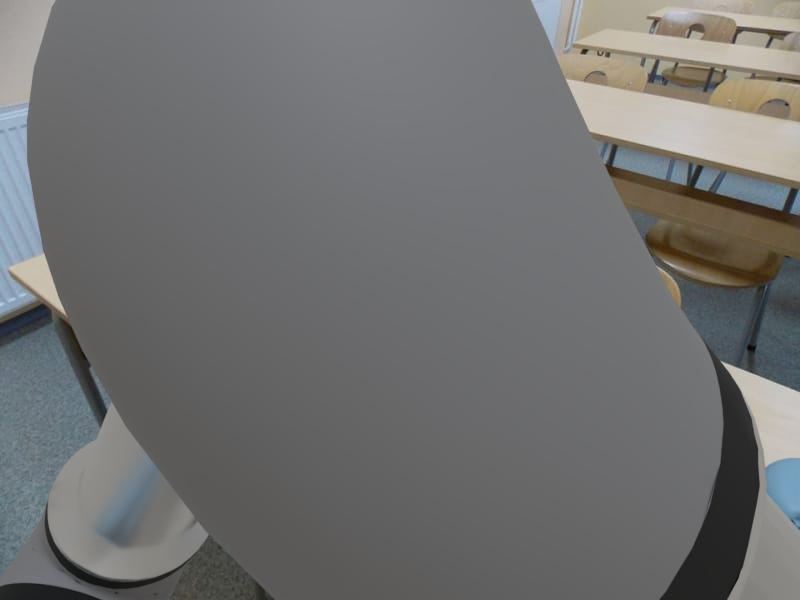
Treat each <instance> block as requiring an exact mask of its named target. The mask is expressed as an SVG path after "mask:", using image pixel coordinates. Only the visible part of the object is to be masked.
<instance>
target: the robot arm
mask: <svg viewBox="0 0 800 600" xmlns="http://www.w3.org/2000/svg"><path fill="white" fill-rule="evenodd" d="M31 77H32V79H31V86H30V93H29V94H30V95H29V100H28V101H29V102H28V110H27V118H26V164H27V169H28V176H29V181H30V187H31V192H32V197H33V204H34V209H35V214H36V220H37V225H38V231H39V236H40V240H41V241H40V242H41V246H42V251H43V253H44V257H45V260H46V264H47V266H48V269H49V273H50V275H51V279H52V282H53V284H54V288H55V291H56V293H57V297H58V299H59V301H60V304H61V306H62V308H63V310H64V312H65V314H66V317H67V320H68V321H69V322H68V323H69V324H70V326H71V328H72V331H73V333H74V335H75V338H76V340H77V342H78V344H79V346H80V349H81V351H82V352H83V354H84V356H85V358H86V359H87V361H88V363H89V365H90V366H91V368H92V370H93V372H94V373H95V375H96V377H97V379H98V380H99V382H100V384H101V385H102V387H103V389H104V391H105V393H106V394H107V396H108V399H109V400H110V404H109V406H108V408H107V412H106V414H105V416H104V419H103V422H102V424H101V426H100V429H99V432H98V434H97V437H96V439H94V440H92V441H90V442H88V443H87V444H85V445H84V446H83V447H81V448H79V449H78V450H77V451H76V452H75V453H74V454H73V455H72V456H70V458H69V459H68V460H67V461H66V463H65V464H63V466H62V468H61V469H60V471H59V472H58V474H57V476H56V478H55V480H54V481H53V484H52V487H51V489H50V492H49V496H48V499H47V501H46V504H45V507H44V510H43V513H42V515H41V517H40V519H39V521H38V523H37V524H36V526H35V527H34V529H33V531H32V532H31V534H30V536H29V537H28V538H27V540H26V541H25V542H24V544H23V546H22V547H21V548H20V550H19V552H18V553H17V554H16V555H15V557H14V558H13V560H12V562H11V563H9V565H8V567H7V568H6V570H5V571H4V573H3V574H1V575H2V576H1V577H0V600H171V598H172V596H173V593H174V591H175V589H176V587H177V584H178V582H179V580H180V578H181V576H182V574H183V572H184V570H185V569H186V567H187V565H188V564H189V563H190V562H191V560H192V559H193V558H194V557H195V555H196V554H197V553H198V551H199V550H200V548H201V547H202V546H203V544H204V543H205V542H206V540H207V539H208V537H209V536H210V538H212V539H213V540H214V541H215V542H216V543H217V544H218V545H219V546H220V547H221V548H222V549H223V550H224V551H225V552H226V553H227V554H228V555H229V556H230V557H231V558H232V559H233V560H234V561H235V562H236V563H237V564H238V565H239V566H240V567H241V568H242V569H243V570H244V571H245V572H246V573H247V574H248V575H249V576H250V577H251V578H252V579H253V580H254V581H255V582H256V583H257V584H258V585H259V586H260V587H261V588H262V589H263V590H265V592H266V593H267V594H268V595H269V596H271V598H272V599H273V600H800V457H787V458H786V457H785V458H782V459H778V460H776V461H773V462H771V463H769V464H768V465H766V462H765V452H764V447H763V443H762V439H761V436H760V432H759V429H758V425H757V421H756V417H755V415H754V413H753V411H752V409H751V407H750V405H749V403H748V400H747V398H746V396H745V395H744V393H743V391H742V388H741V387H740V386H739V384H738V383H737V382H736V380H735V378H734V377H733V376H732V374H731V373H730V371H729V370H728V369H727V367H726V366H725V365H724V363H723V362H722V361H721V360H720V358H718V356H717V355H716V354H715V352H714V351H713V350H712V348H711V347H710V346H709V345H708V344H707V342H706V341H705V339H704V338H703V337H702V336H701V334H700V333H699V332H698V331H697V329H696V328H695V326H694V325H693V323H692V321H690V319H689V318H688V317H687V315H686V314H685V312H684V311H683V310H682V308H681V307H680V305H679V304H678V302H677V301H676V299H675V298H674V297H673V294H672V293H671V291H670V289H669V287H668V285H667V283H666V281H665V280H664V277H663V275H662V274H661V272H660V270H659V268H658V266H657V264H656V262H655V261H654V259H653V256H652V255H651V253H650V251H649V249H648V247H647V245H646V243H645V242H644V239H643V238H642V236H641V234H640V232H639V230H638V228H637V226H636V224H635V223H634V221H633V219H632V217H631V215H630V213H629V211H628V210H627V208H626V206H625V204H624V202H623V200H622V198H621V196H620V194H619V192H618V190H617V189H616V187H615V185H614V182H613V179H612V178H611V175H610V173H609V171H608V169H607V167H606V164H605V163H604V160H603V158H602V156H601V154H600V151H599V149H598V146H597V145H596V143H595V140H594V138H593V136H592V134H591V132H590V129H589V127H588V125H587V123H586V121H585V118H584V116H583V114H582V112H581V109H580V107H579V105H578V103H577V101H576V99H575V96H574V94H573V92H572V90H571V88H570V85H569V83H568V81H567V79H566V77H565V74H564V72H563V70H562V67H561V65H560V63H559V60H558V58H557V56H556V53H555V51H554V49H553V46H552V44H551V41H550V39H549V37H548V34H547V32H546V29H545V28H544V25H543V23H542V21H541V18H540V16H539V14H538V12H537V11H536V8H535V6H534V3H533V2H532V0H55V1H54V2H53V4H52V6H51V8H50V12H49V15H48V19H47V22H46V26H45V29H44V32H43V35H42V39H41V42H40V45H39V49H38V53H37V56H36V59H35V62H34V66H33V71H32V76H31Z"/></svg>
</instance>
